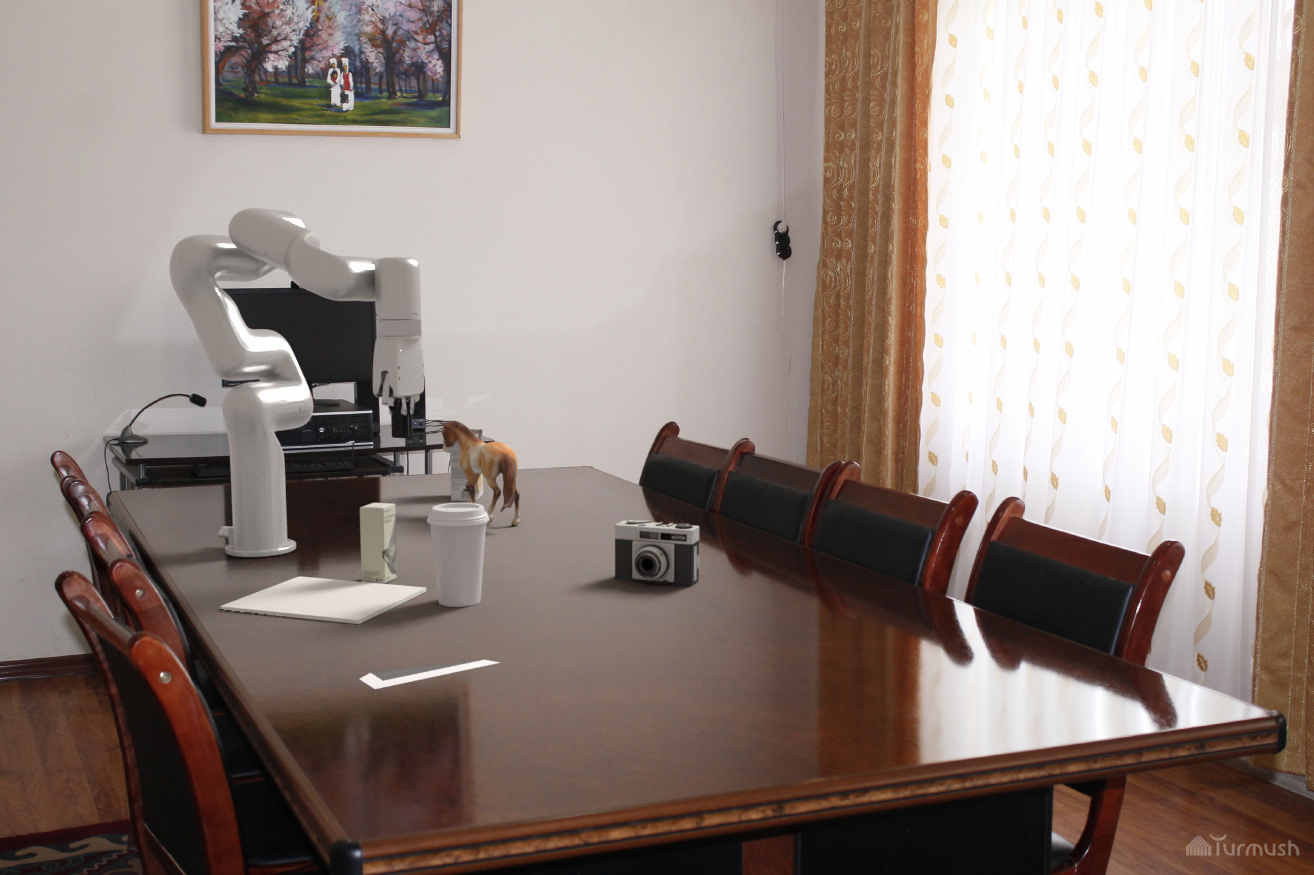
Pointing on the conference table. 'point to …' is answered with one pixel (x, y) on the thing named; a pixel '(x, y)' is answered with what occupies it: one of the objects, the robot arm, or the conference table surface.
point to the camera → (657, 552)
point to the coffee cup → (458, 551)
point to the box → (378, 543)
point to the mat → (325, 599)
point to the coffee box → (462, 475)
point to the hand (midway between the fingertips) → (402, 437)
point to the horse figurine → (484, 465)
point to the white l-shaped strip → (418, 673)
